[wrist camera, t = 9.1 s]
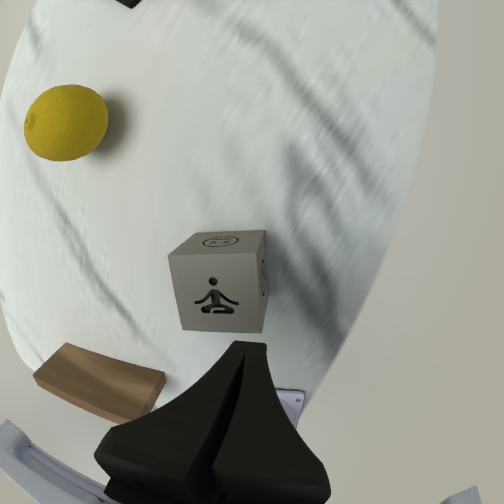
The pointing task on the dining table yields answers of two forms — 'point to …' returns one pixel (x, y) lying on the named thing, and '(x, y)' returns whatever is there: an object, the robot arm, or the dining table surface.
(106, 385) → the brown wooden block
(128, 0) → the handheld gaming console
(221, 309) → the dice cube
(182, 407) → the robot arm
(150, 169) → the dining table surface
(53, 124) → the lemon
